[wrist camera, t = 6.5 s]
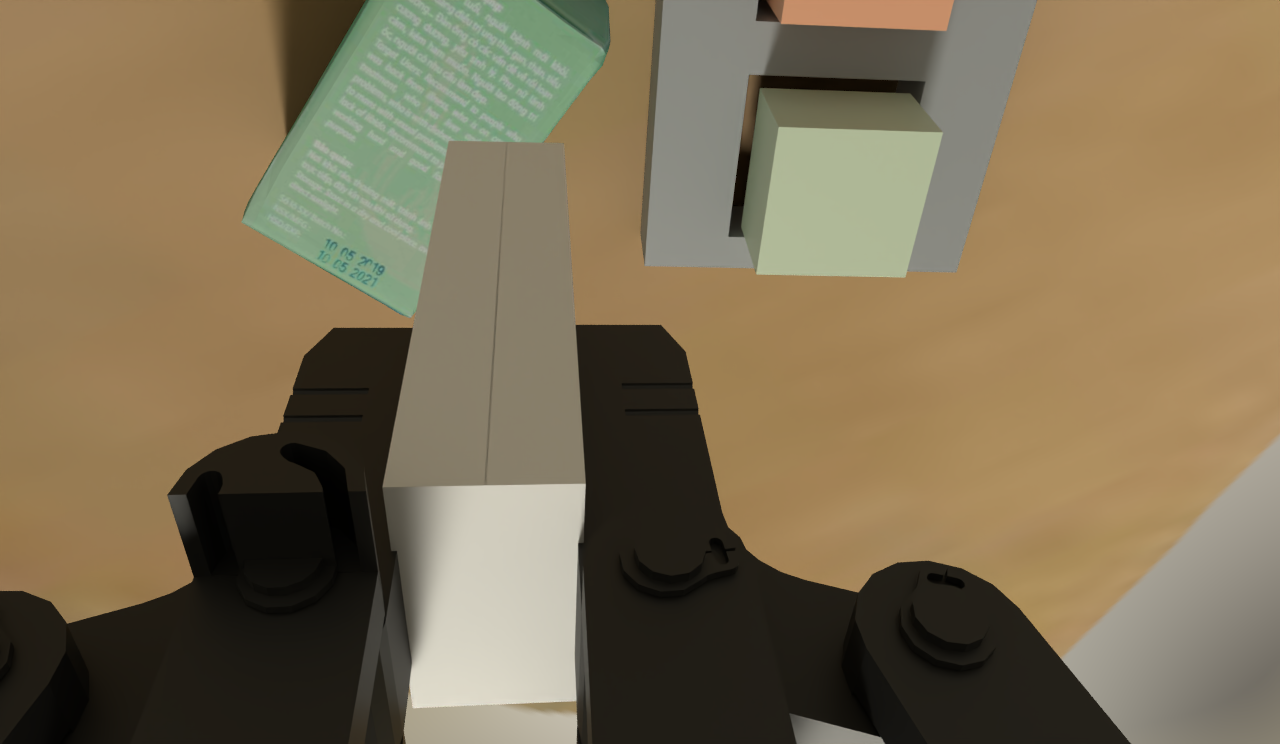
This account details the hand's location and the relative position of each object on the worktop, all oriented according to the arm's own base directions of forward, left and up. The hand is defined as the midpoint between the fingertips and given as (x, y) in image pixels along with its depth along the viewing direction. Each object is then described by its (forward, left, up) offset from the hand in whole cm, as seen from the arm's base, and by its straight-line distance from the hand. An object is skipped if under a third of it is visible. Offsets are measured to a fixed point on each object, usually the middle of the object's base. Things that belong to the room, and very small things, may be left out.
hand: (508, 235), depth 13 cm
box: (-4, -7, -27) cm, 28 cm away
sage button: (+11, -9, -24) cm, 28 cm away
